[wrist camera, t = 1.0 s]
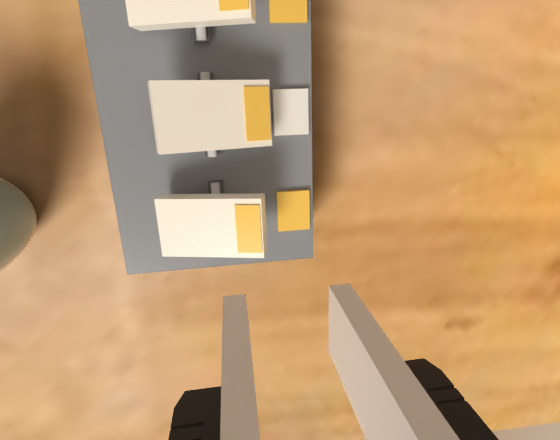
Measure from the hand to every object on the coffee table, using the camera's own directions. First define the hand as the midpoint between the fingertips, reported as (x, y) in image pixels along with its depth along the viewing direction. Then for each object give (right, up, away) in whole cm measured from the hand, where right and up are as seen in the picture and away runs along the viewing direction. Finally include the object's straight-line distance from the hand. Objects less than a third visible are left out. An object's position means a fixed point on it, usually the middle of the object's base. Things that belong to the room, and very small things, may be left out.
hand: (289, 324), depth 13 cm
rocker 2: (-5, +10, +10) cm, 16 cm away
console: (-6, +12, +17) cm, 22 cm away
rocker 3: (-5, +4, +12) cm, 14 cm away
